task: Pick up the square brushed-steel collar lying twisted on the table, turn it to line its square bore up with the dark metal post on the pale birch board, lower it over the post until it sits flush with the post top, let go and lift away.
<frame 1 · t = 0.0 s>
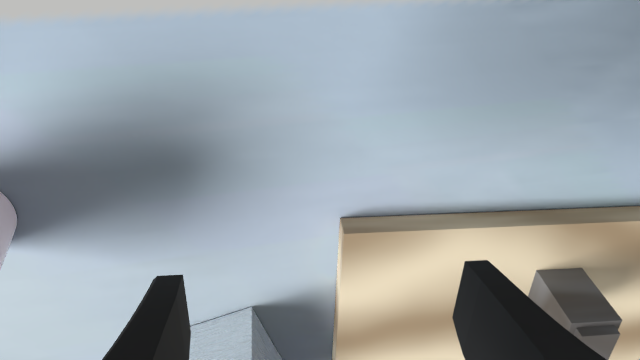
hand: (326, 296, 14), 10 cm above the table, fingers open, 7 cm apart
post board: (494, 313, 30), on the table
steel collar: (223, 356, 29), on the table
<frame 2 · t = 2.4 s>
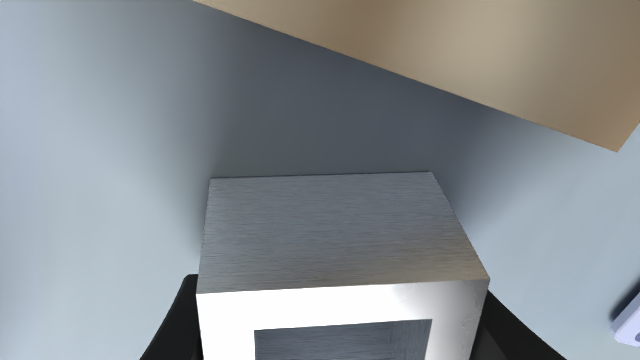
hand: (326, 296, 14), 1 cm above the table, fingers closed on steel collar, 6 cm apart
steel collar: (320, 260, 15), on the table, touching gripper
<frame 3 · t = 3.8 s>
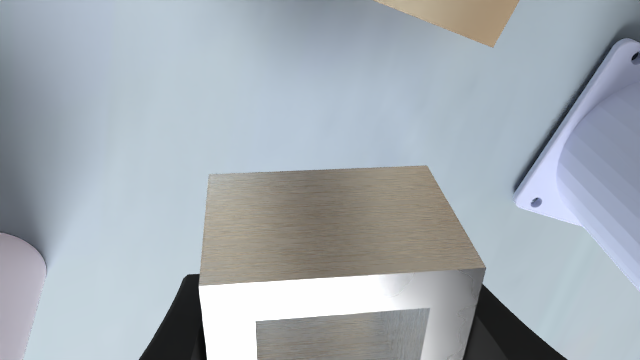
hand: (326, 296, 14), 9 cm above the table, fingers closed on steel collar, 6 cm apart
smoothie: (2, 262, 23), on the table
steel collar: (317, 254, 15), point 7 cm above the table, touching gripper
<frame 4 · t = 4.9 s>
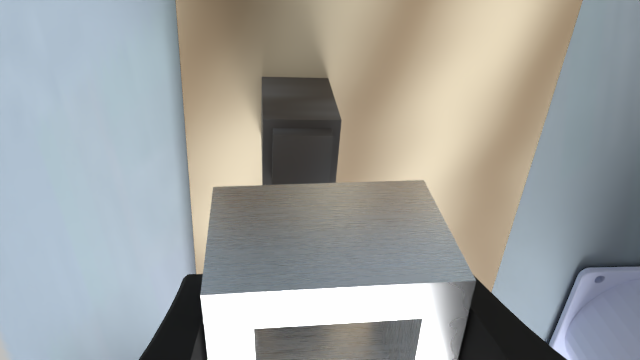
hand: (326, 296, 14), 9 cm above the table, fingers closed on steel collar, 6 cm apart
post board: (362, 141, 22), on the table
steel collar: (317, 265, 16), point 8 cm above the table, touching gripper
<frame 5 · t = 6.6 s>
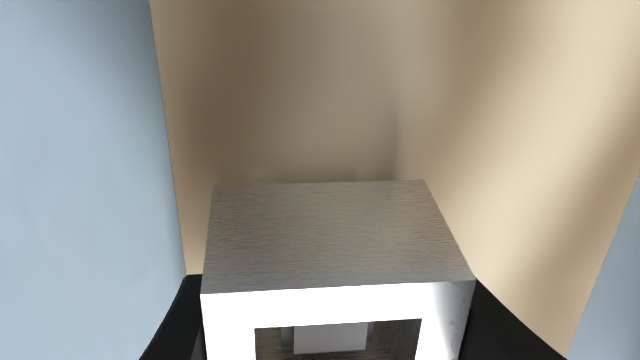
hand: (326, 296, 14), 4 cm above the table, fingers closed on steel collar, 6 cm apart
post board: (395, 248, 19), on the table
steel collar: (317, 264, 16), point 2 cm above the table, touching gripper
when the fingers open (4 cm above the table, at t = 7.7 s): steel collar stays where it is, resting on post board.
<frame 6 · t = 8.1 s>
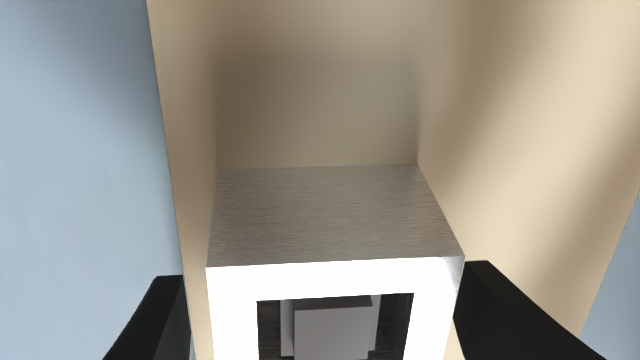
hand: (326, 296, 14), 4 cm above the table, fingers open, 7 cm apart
post board: (397, 253, 18), on the table
steel collar: (316, 245, 16), point 1 cm above the table, touching post board
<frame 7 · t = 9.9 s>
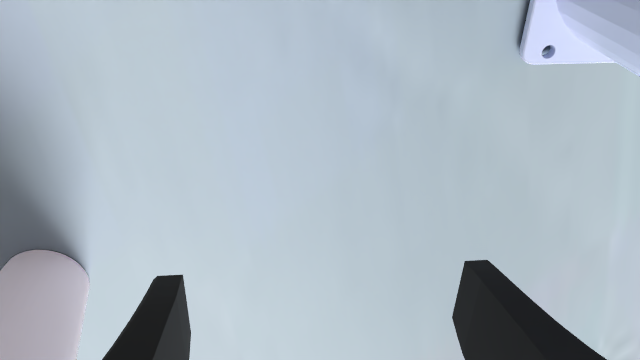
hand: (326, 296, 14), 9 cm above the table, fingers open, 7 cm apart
smoothie: (48, 278, 25), on the table
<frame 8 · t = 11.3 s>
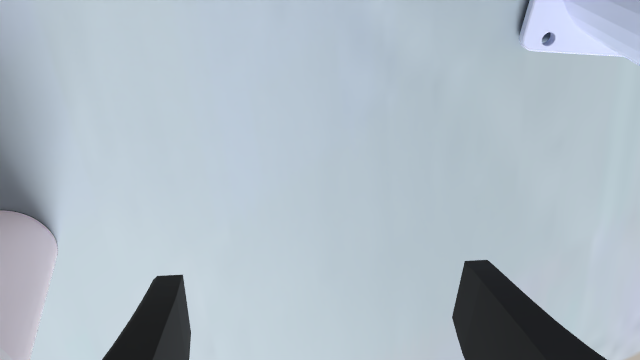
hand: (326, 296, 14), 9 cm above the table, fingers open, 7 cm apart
smoothie: (14, 242, 23), on the table
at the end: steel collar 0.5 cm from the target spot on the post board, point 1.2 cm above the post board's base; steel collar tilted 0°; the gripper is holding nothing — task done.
